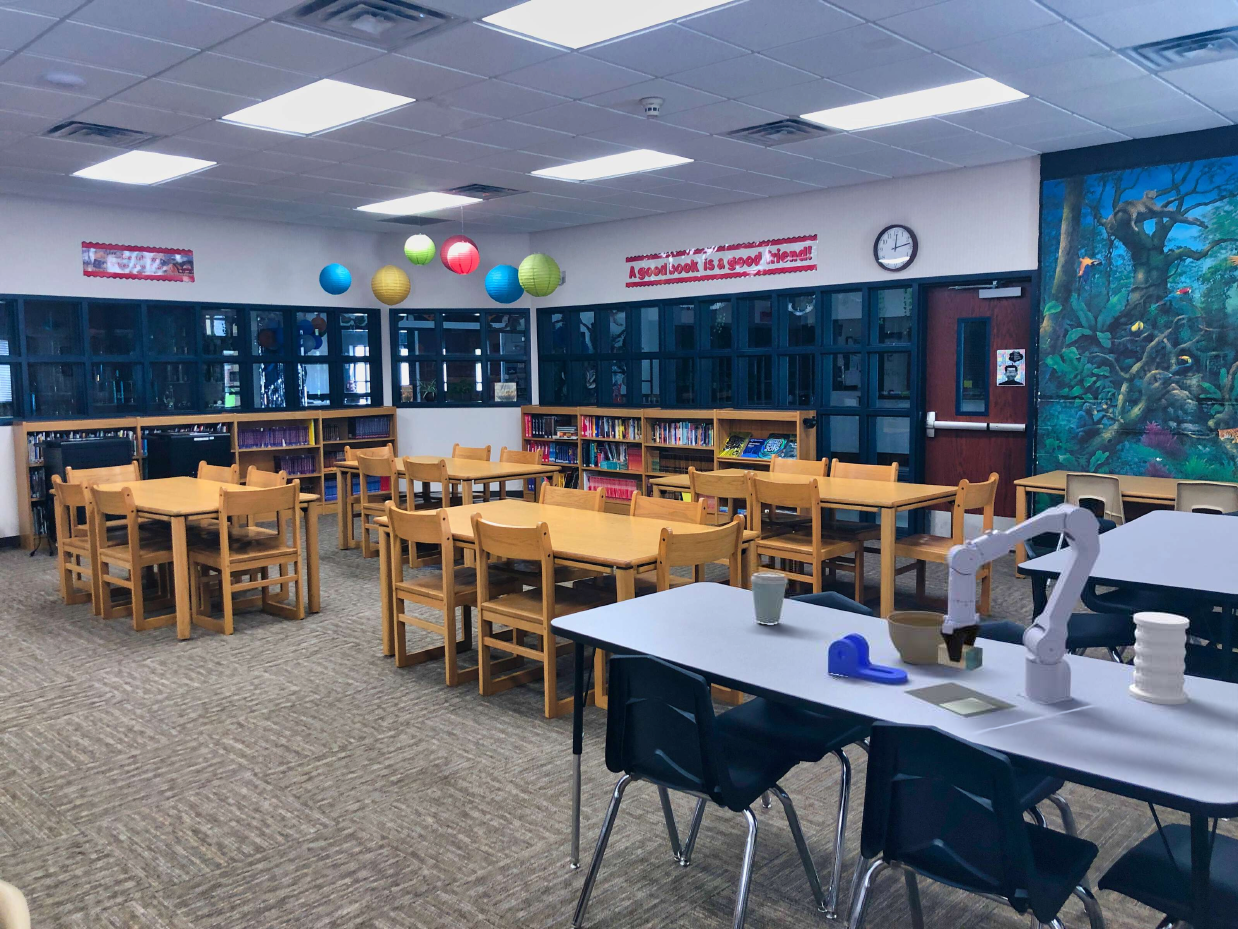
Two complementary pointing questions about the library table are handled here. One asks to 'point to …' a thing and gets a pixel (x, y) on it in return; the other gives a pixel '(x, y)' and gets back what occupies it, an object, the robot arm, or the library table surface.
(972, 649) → the birch block
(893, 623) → the planter bowl
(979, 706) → the rubber mat
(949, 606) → the robot arm
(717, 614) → the library table surface
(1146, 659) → the decorative container
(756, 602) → the disposable coffee cup
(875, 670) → the bracket
